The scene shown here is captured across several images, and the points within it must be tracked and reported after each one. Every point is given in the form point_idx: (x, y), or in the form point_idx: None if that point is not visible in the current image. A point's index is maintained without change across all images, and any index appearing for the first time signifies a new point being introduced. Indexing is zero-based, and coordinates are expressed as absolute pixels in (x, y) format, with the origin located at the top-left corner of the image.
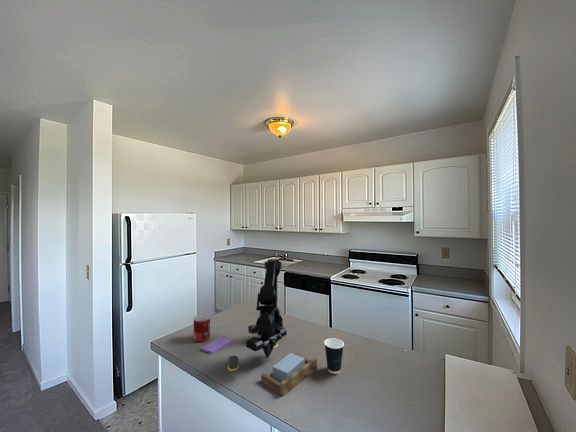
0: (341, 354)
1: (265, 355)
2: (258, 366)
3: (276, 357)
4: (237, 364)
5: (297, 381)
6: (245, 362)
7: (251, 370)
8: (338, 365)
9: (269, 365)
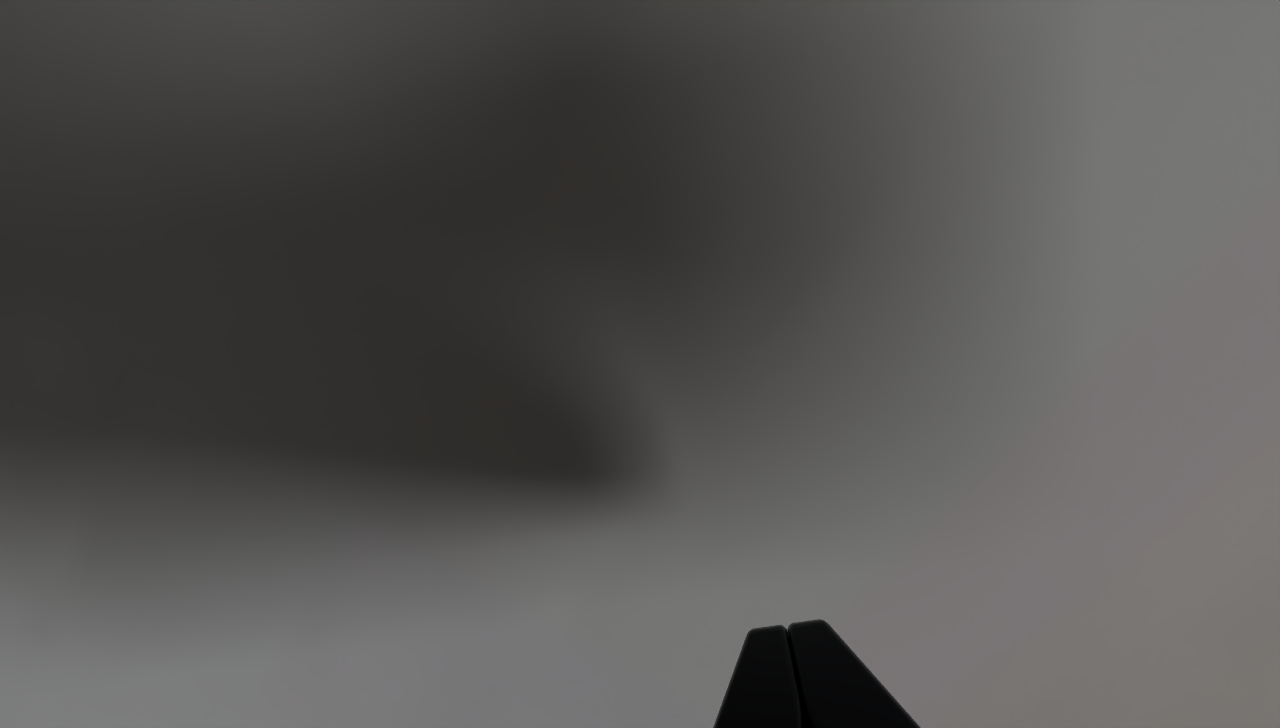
0: None
1: (731, 691)
2: (449, 508)
3: (1186, 461)
4: None
5: None
6: (129, 45)
7: (194, 541)
8: None
9: (734, 638)
